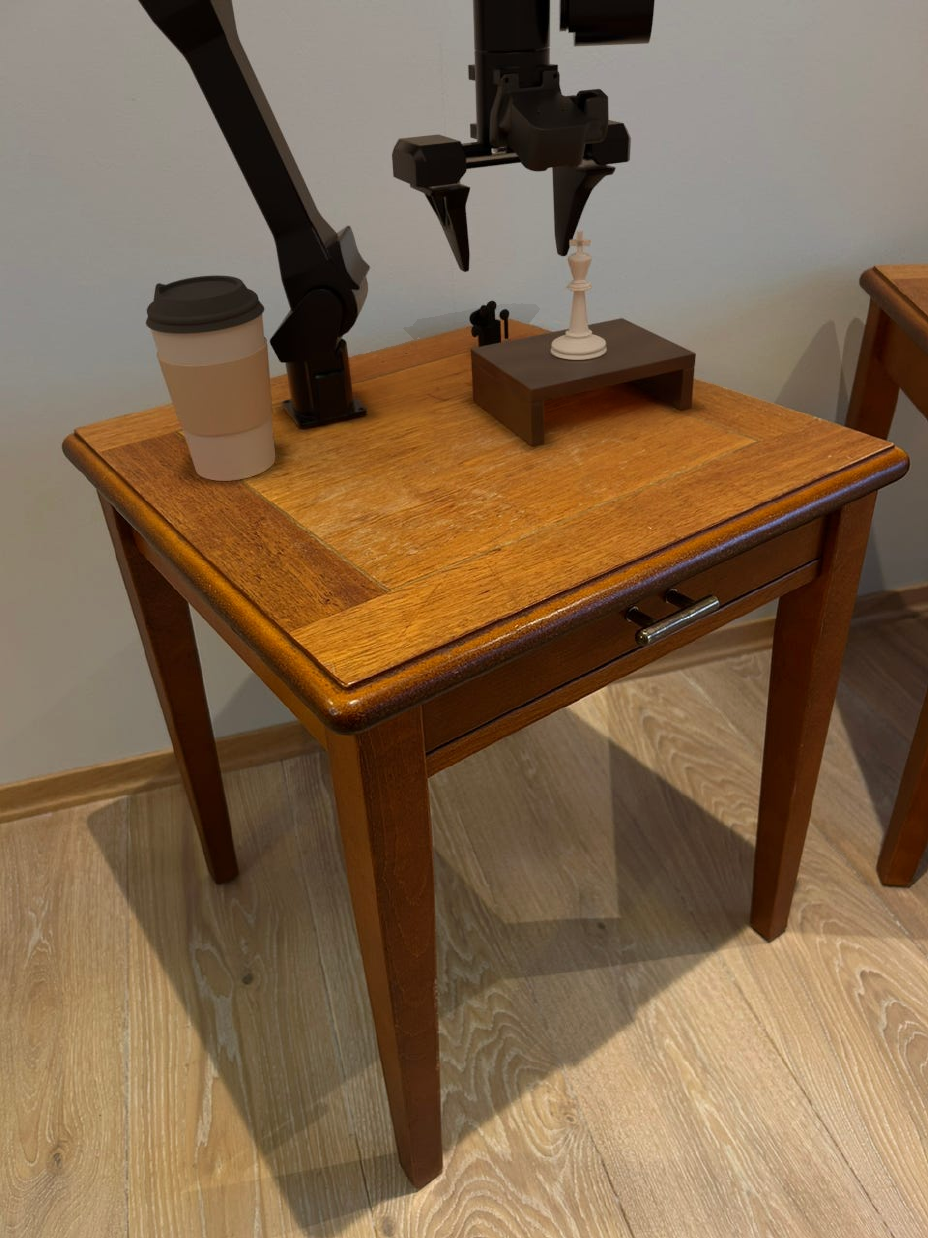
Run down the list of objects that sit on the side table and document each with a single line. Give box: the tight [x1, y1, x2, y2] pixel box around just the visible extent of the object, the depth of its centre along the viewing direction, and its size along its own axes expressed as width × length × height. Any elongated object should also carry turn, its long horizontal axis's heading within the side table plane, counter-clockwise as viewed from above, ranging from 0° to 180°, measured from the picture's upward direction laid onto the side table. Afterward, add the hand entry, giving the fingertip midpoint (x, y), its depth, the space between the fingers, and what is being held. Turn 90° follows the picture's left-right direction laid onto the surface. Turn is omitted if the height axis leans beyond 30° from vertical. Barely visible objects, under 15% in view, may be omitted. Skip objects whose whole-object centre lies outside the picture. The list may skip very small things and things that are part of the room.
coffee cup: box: [145, 274, 276, 482], centre depth 78 cm, size 9×9×15 cm
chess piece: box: [551, 230, 607, 360], centre depth 83 cm, size 5×5×10 cm
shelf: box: [470, 317, 697, 447], centre depth 87 cm, size 12×16×5 cm
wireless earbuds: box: [468, 300, 510, 347], centre depth 100 cm, size 7×2×5 cm, turn 147°
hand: (514, 262), depth 82 cm, fingers open, 9 cm apart
